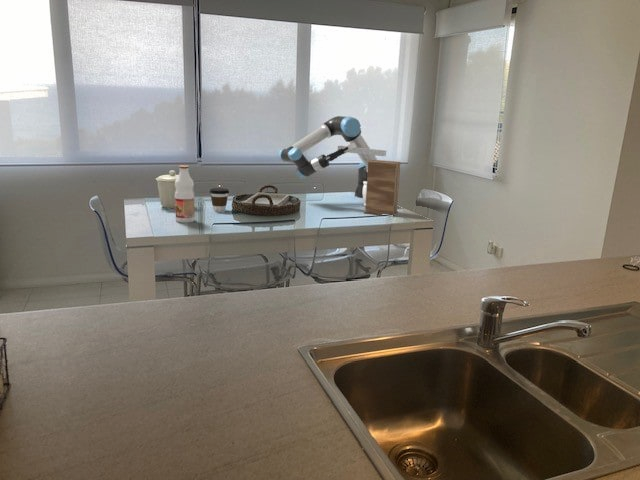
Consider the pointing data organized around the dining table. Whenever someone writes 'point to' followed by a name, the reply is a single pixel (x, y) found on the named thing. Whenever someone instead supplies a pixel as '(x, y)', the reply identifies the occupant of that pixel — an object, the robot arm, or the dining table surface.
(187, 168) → the fruit juice
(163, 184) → the canister
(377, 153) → the steel bar
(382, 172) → the walnut tower
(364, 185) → the jar
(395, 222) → the dining table surface
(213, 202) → the coffee cup
